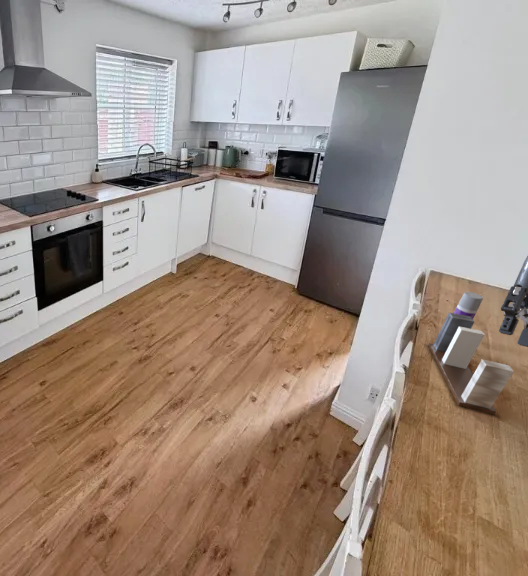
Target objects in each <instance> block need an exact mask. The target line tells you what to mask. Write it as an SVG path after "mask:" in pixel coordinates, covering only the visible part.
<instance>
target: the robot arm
mask: <svg viewBox="0 0 528 576" xmlns="http://www.w3.org/2000/svg"><path fill="white" fill-rule="evenodd" d="M500 312H503V316H504V318H503V319H502V322H501V325H500V327H499V329H498V332H499V333H500V334H502V335H507V336H512V335H513V334H514V332H515V331H516V328H517V326H518V324H519V321H520V320H519V319H521V321H522V322H523V328H522V330H521V333H520V335H519V337H518V340H517V342H516V343H517V344H518V345H519V346H522V347H525V348H528V255H527V256H526V258H525V259H524V261H523V263H522V266H521V268H520V270H519V272H518V275H517V277H516V279H515V281H514V283H513V285H511V286H510V288H509V290H508V293H507V294H506V297H505V299H504V301H503V302H502V305H501V307H500Z"/></svg>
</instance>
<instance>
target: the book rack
mask: <svg viewBox="0 0 528 576" xmlns="http://www.w3.org/2000/svg"><path fill="white" fill-rule="evenodd" d="M474 324H475V320H474V318H473V319H472V318H471V317H470V316H465V315H460V314H455V313H454V312H448V314H447V316H446V318H445V320H444V322H443V324H442V327H441V328H440V329H439V332H438V334H437V336H436V339H435V341H434V343H428V346H427V347H428V349H429V350H430V353H431V354H432V356H433V358H434V360H435V362H436V364H437V366H438V368H439V371H440V373H441V374H442V376H443V378H444V380H445V382H446V384H447V386H448V388H449V391H450V393H451V394H452V396H453V398H454V400H455V402H456V404H457V406H458V407H463V408H466V409H470V410H474V411H478V412H482V413H485V414H490V415H493V416H495V415H496V413H497V410H496V409H495V407H494V404H495V403H496V401H497V399H498V398H499V396H500V394H501V393H502V391H503V389H504V388H505V387H506V385H507V383H508V382H509V381H510V378H511V377H512V375H513V374H514V372H515V371H514V370H513V369H512V367H511V366H510V365H508V364H504V363H500V362H495V361H491V360H486V359H483V358H482V359H481V360H480V362H479V364H478V365H477V368H476V369H475V371H474V373H473V372H472V370H471V369H470V367H469V365H468V366H467V368H466V369H464V368H459V367H455V366H451V365H447V364H444V363H443V361H442V359H443V357H444V355H445V353H446V351H447V349H448V347H449V345H450V343H451V341H452V339H453V337H454V335H455V333H456V331H457V329H458V327H459V326H460V327H464V328H469V329H473V326H474Z"/></svg>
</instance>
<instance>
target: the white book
mask: <svg viewBox="0 0 528 576" xmlns="http://www.w3.org/2000/svg"><path fill="white" fill-rule="evenodd" d="M485 336H486V335H485V333H484V332H483V331H482V330H479V329H474V328H471V329H469V328H464V327H460V326H459V327H458V329H457V331H456V333H455V335H454V337H453V339H452V341H451V343H450V345H449V347H448V349H447V351H446V353H445V355H444V357H443V359H442V361H443V363H444V364H447V365H451V366H455V367H459V368H464V369H466V368H467V366H468V367H469V364H470V362H471V361H472V359H473V357H474V355H475V353H476V351H477V350H478V348H479V346H480V344H481V343H482V341H483V339H484V338H485Z"/></svg>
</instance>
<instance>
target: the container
mask: <svg viewBox="0 0 528 576" xmlns="http://www.w3.org/2000/svg"><path fill="white" fill-rule="evenodd" d="M483 301H484V296H483V295H480V294H479V293H475V292H472V291H465V292H464V293H463V294H462V296H461V298H460V300H459V302H458V304H457V306H456V308H455V310H454V312H453V313H455V314H460V315H465V316H470V317H471V318H472V319H473V320H474V318H475V316H476V314H477V313H478V310H479V308H480V306H481V304H482V302H483Z"/></svg>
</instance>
